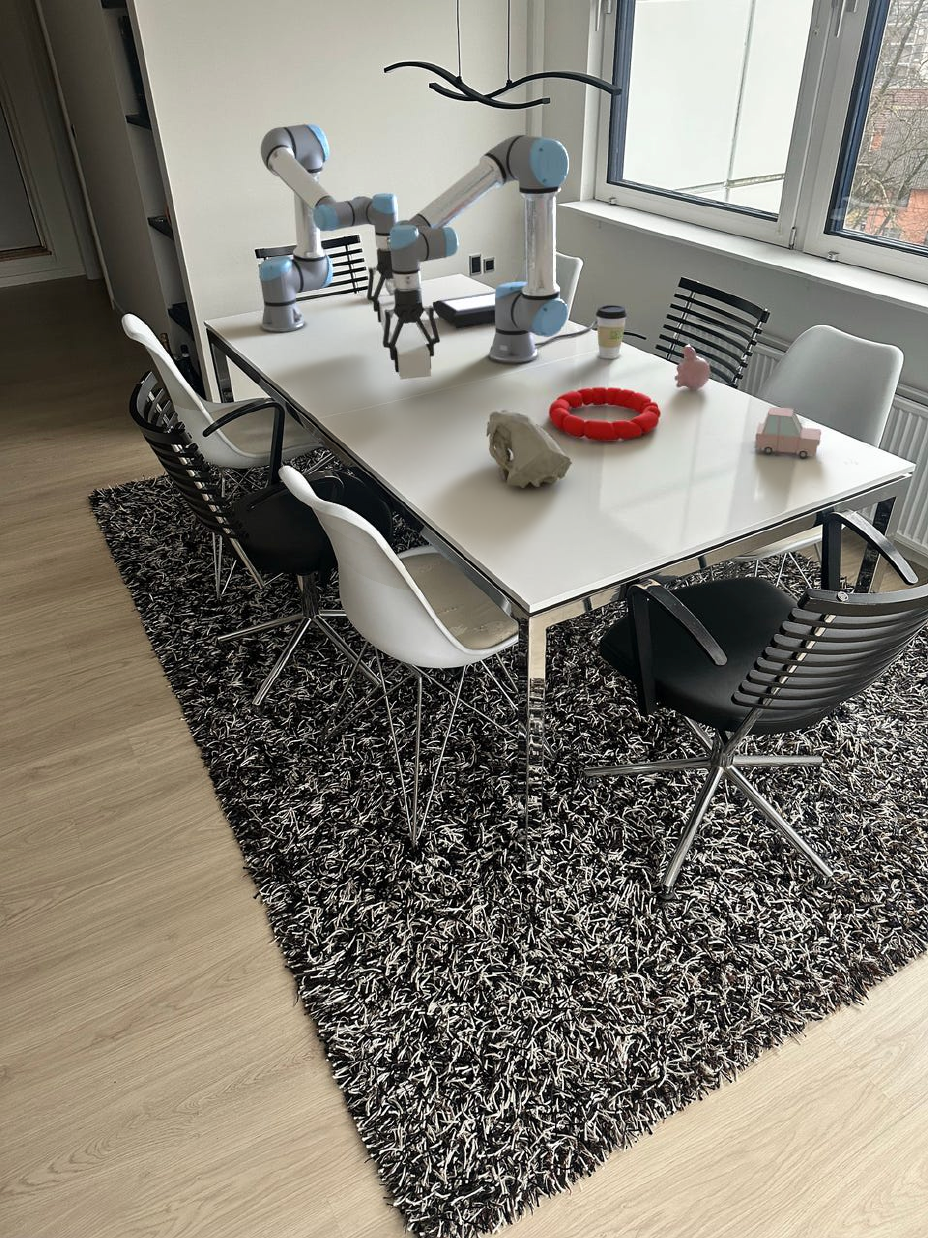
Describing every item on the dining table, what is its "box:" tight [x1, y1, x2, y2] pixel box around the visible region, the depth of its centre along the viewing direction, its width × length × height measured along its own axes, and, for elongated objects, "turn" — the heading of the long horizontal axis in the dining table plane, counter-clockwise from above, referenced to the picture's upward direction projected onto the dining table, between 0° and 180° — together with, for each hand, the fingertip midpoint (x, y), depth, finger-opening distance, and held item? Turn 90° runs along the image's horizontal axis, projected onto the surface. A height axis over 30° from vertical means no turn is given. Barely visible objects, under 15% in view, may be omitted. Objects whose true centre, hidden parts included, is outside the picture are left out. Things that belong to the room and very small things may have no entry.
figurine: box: [674, 344, 711, 390], centre depth 259 cm, size 9×11×12 cm
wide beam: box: [377, 294, 432, 380], centre depth 273 cm, size 60×9×7 cm, turn 10°
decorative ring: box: [548, 386, 661, 442], centre depth 242 cm, size 7×30×30 cm
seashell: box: [384, 279, 395, 296], centre depth 353 cm, size 10×15×10 cm
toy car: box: [753, 406, 822, 459], centre depth 222 cm, size 9×15×10 cm, turn 70°
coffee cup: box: [595, 304, 628, 360], centre depth 285 cm, size 10×10×15 cm
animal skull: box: [485, 409, 573, 489], centre depth 216 cm, size 17×25×20 cm
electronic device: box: [432, 291, 495, 330], centre depth 326 cm, size 32×6×20 cm
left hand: (393, 319), depth 295 cm, fingers closed on wide beam, 9 cm apart
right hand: (413, 368), depth 255 cm, fingers closed on wide beam, 9 cm apart
